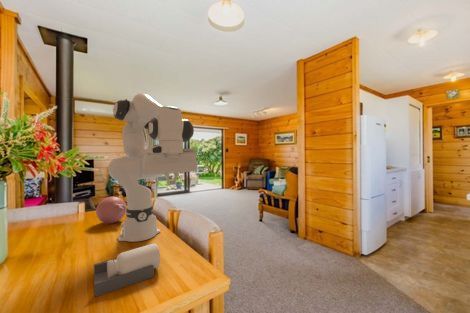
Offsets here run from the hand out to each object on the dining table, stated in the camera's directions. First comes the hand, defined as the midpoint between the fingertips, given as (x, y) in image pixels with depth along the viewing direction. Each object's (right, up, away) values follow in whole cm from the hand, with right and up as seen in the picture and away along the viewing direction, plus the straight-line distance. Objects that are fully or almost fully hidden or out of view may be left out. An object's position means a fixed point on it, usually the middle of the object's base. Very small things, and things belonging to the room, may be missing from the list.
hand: (171, 184), depth 80 cm
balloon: (-47, -29, +42) cm, 69 cm away
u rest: (-12, -29, -11) cm, 33 cm away
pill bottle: (-3, -24, -6) cm, 25 cm away
